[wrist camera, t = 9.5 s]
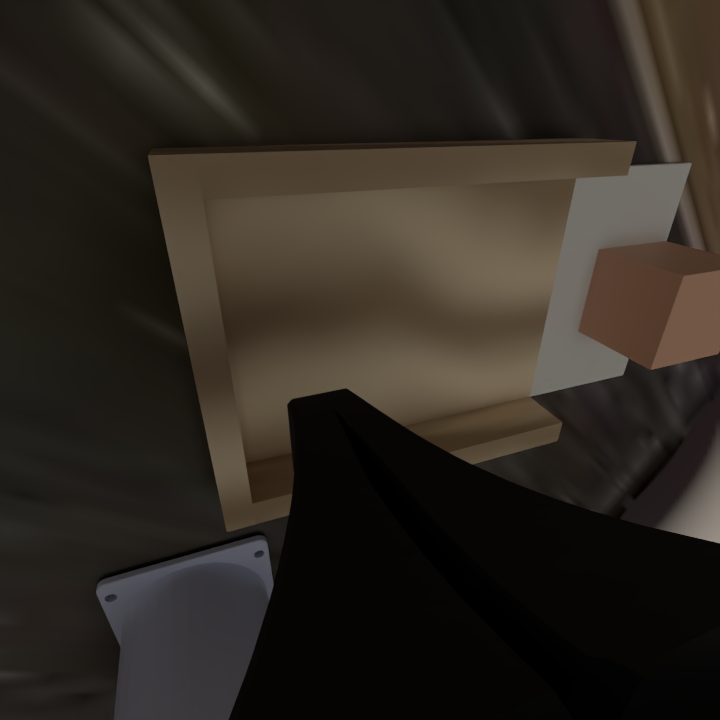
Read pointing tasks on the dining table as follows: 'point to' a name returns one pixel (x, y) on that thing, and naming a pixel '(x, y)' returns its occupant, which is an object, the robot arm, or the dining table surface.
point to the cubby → (367, 290)
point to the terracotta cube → (655, 303)
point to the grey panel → (577, 260)
